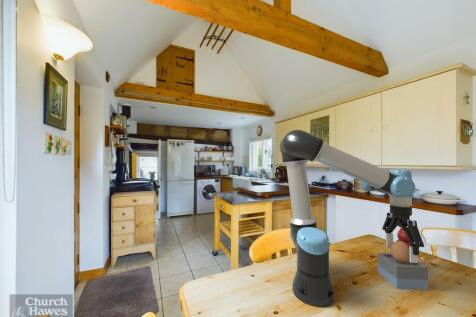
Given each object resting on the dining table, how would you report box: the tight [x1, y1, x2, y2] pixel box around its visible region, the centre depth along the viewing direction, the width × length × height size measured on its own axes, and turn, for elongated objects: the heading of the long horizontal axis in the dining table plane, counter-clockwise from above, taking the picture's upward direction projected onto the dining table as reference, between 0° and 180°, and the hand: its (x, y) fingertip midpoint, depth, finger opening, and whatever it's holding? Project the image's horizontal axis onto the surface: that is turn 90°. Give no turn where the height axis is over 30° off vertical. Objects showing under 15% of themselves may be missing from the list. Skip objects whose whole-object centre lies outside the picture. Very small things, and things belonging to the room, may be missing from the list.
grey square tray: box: [377, 252, 429, 291], centre depth 86 cm, size 12×12×9 cm
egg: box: [390, 240, 410, 263], centre depth 86 cm, size 7×7×9 cm
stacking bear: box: [396, 227, 411, 249], centre depth 98 cm, size 11×10×18 cm
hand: (400, 254), depth 86 cm, fingers open, 13 cm apart
